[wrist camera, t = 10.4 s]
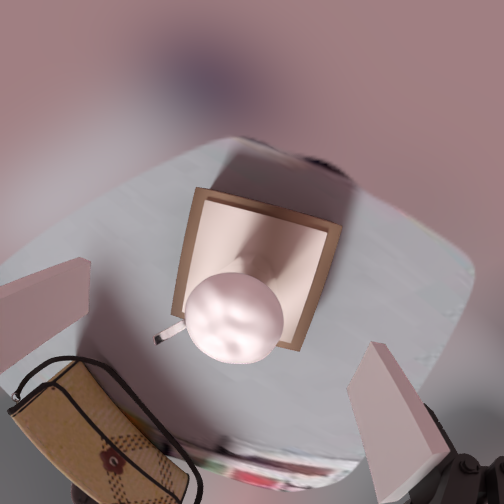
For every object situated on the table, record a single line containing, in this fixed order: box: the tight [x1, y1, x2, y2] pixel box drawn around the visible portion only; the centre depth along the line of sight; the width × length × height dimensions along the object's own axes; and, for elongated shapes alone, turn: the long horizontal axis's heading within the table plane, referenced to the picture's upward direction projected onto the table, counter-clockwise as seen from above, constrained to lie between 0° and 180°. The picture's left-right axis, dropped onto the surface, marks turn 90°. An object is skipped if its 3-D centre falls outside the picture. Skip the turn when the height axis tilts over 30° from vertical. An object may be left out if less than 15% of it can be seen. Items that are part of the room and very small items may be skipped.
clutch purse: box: [7, 356, 203, 504], centre depth 23 cm, size 30×7×15 cm, turn 31°
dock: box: [171, 187, 342, 352], centre depth 22 cm, size 11×10×4 cm
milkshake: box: [153, 253, 284, 364], centre depth 15 cm, size 4×5×10 cm
